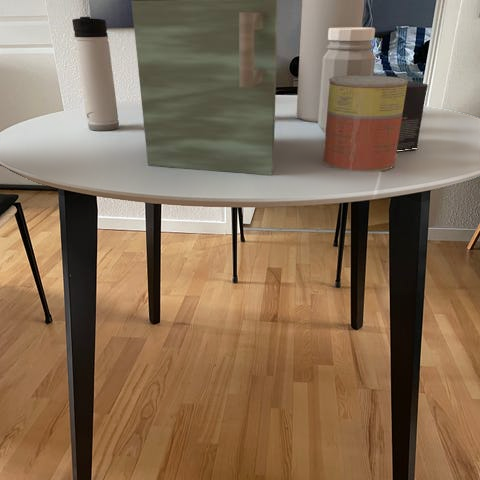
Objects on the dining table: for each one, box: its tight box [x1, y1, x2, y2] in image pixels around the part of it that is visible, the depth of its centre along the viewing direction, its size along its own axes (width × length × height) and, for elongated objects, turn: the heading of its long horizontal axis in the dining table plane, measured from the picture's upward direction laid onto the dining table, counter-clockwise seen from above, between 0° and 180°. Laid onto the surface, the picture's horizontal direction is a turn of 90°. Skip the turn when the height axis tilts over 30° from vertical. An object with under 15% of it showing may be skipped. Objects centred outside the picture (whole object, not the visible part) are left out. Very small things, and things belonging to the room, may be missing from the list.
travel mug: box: [71, 16, 120, 132], centre depth 99 cm, size 6×7×20 cm
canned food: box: [322, 75, 409, 173], centre depth 76 cm, size 11×11×12 cm
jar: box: [317, 26, 377, 134], centre depth 96 cm, size 10×10×18 cm
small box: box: [397, 80, 429, 150], centre depth 87 cm, size 11×6×10 cm, turn 21°
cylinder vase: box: [296, 0, 366, 123], centre depth 107 cm, size 12×12×25 cm
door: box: [131, 0, 279, 176], centre depth 68 cm, size 6×20×22 cm, turn 73°
